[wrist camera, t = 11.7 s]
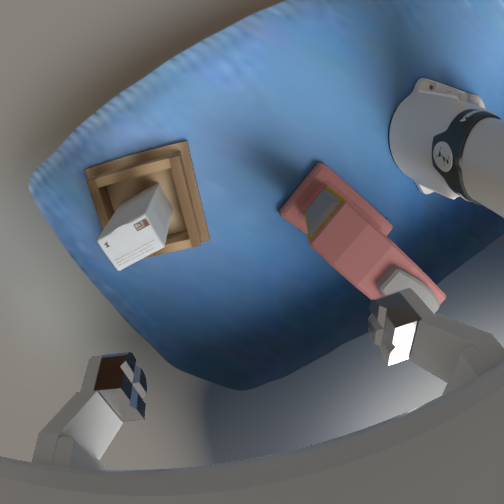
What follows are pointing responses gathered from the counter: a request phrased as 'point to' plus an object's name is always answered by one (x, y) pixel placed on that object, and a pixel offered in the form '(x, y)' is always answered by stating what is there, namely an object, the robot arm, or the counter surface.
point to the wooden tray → (146, 175)
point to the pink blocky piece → (355, 238)
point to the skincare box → (137, 227)
